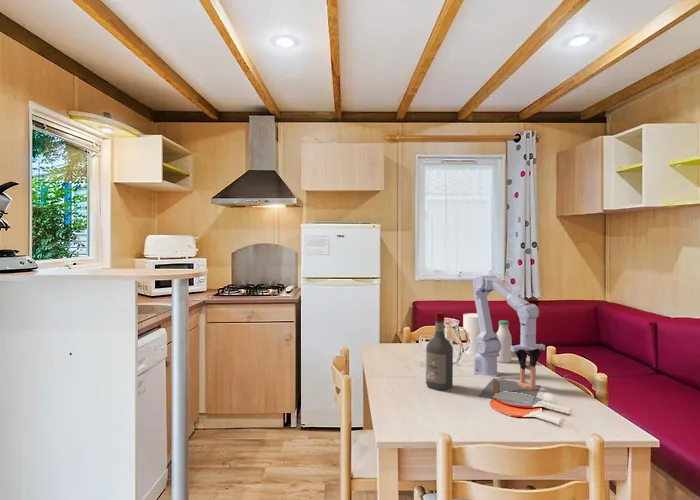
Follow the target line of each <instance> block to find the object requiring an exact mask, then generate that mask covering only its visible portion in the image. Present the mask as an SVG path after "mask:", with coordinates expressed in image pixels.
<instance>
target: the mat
mask: <svg viewBox="0 0 700 500" xmlns="http://www.w3.org/2000/svg"><path fill="white" fill-rule="evenodd" d="M494 380H498V378H497V377H493V378H492V379H491V380H490V381H489V382H488V383H487V384H486V386H485V387H484V388H483V389H482V390H481V392H480V393H479V394H478V395H477V396H478V397H479V398H484V399H485V398H486V399H491V400H494V399H493V398H494V397H493V381H494ZM517 382H518V381H515V380H510V379H502V380H501V382H500V392H503V391H508V392H517V393H523V394H527V395H531V396H534V397H535V398H536V397H537V395H538V393H539V391H540V389H541V387H542V385H539V384H535V386H536V387H538V390H531V391H529V390H527V389H525V388H523V387H521V386H519V385H517Z"/></svg>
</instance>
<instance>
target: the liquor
mask: <svg viewBox="0 0 700 500" xmlns="http://www.w3.org/2000/svg"><path fill="white" fill-rule="evenodd" d="M434 321H435V322H434V323H435V325H434V326H435V327H434V328H435V329H434V330H435V331H434V336H433V337H432V338H431V340H430V341H428V343H427V344H426V347H425V348H426V349H425V353H426V354H425V384H426V386H427V388H428V389H432V390H436V391H442V392H443V391H447V390H449V389H451V388H452V387H453V381H454V380H453V376H454V375H453V374H454V372H453V369H454V362H453V359H454V355H453V354H454V348H453V344H451V342H450V341H449V340H448V339H447V338H446V337H445V336H446V335H445V312H443V311H438V312H437V311H435V313H434Z"/></svg>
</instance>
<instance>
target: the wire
mask: <svg viewBox="0 0 700 500" xmlns="http://www.w3.org/2000/svg"><path fill="white" fill-rule="evenodd" d="M497 379H498V380H494V381H493V396H494V394H495V393H499V392H500V382H501V380H502V379H503V380H510V379H511V380H512V379H520V374H516V375H514V374H513V375H502V376H499V377H498V378H497Z"/></svg>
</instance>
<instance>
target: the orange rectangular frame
mask: <svg viewBox="0 0 700 500" xmlns="http://www.w3.org/2000/svg"><path fill="white" fill-rule="evenodd" d="M526 370H528V371H530V372H529V373H530V376H529V378H530V380H529V381H530V382H528V381H526ZM519 375H520V378H519V381H516V382H517V385H519V386H521V387H523V388H525V389H527V390H529V391H531V390H538V387H536V386H535V385H536V382H537V380H536V379H537V377H536V375H537V374H536V366H535V367H534V366H531V365H530V363H529V364H528V363H526V368H525V369H522V368H521V367H520V366H519Z"/></svg>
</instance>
